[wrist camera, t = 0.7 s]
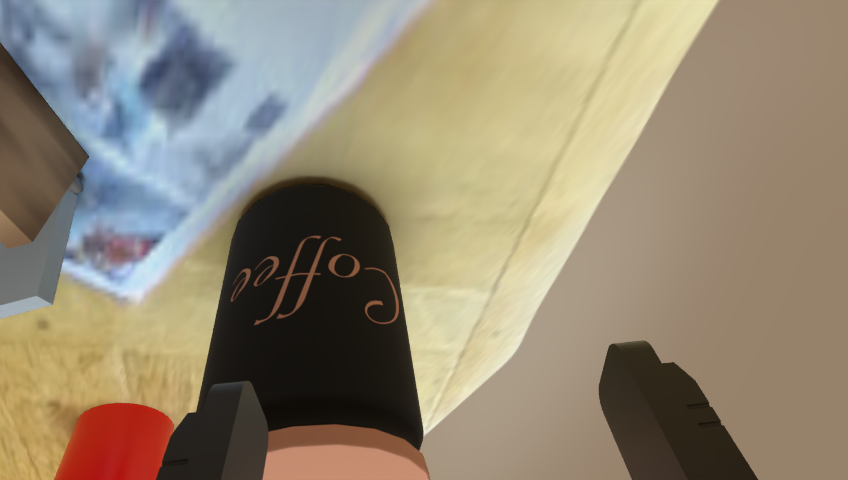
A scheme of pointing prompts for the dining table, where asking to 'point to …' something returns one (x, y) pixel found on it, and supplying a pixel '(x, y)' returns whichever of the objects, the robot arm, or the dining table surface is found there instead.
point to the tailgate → (37, 261)
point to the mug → (116, 444)
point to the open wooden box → (30, 157)
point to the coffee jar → (320, 338)
